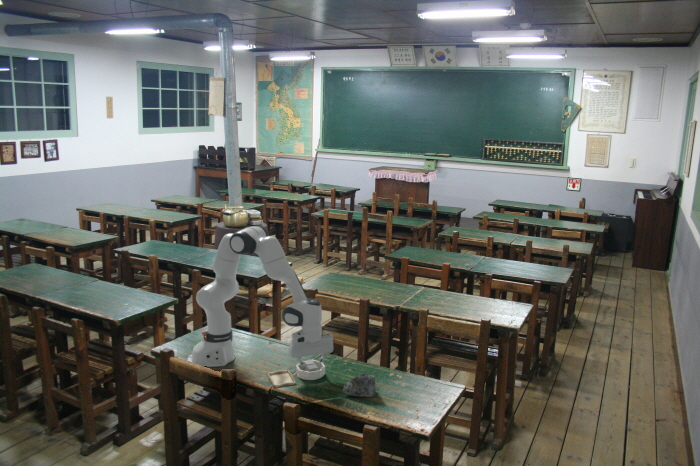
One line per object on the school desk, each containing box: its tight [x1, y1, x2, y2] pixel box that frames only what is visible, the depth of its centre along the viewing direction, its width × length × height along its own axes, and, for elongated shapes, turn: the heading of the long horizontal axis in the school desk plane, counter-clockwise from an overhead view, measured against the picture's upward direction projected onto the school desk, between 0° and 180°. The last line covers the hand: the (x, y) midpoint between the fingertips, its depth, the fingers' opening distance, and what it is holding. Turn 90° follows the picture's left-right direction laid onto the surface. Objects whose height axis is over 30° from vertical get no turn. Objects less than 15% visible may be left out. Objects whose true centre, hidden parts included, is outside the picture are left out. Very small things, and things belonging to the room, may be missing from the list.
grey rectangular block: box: [307, 364, 318, 372], centre depth 248 cm, size 4×4×4 cm
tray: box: [266, 369, 297, 388], centre depth 245 cm, size 10×13×2 cm
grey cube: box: [303, 359, 315, 371], centre depth 253 cm, size 4×4×4 cm
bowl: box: [295, 359, 326, 381], centre depth 251 cm, size 12×12×4 cm
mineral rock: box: [342, 372, 377, 398], centre depth 234 cm, size 13×11×10 cm
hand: (311, 363), depth 248 cm, fingers open, 8 cm apart
